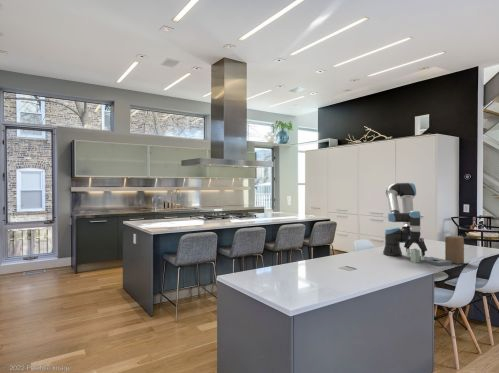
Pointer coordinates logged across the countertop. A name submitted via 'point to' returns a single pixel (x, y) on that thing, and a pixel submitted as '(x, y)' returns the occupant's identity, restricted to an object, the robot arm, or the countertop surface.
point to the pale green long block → (415, 255)
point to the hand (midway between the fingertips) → (415, 258)
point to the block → (454, 249)
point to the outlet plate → (436, 261)
